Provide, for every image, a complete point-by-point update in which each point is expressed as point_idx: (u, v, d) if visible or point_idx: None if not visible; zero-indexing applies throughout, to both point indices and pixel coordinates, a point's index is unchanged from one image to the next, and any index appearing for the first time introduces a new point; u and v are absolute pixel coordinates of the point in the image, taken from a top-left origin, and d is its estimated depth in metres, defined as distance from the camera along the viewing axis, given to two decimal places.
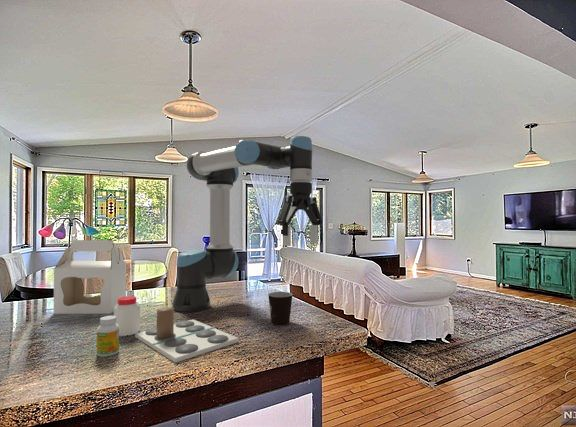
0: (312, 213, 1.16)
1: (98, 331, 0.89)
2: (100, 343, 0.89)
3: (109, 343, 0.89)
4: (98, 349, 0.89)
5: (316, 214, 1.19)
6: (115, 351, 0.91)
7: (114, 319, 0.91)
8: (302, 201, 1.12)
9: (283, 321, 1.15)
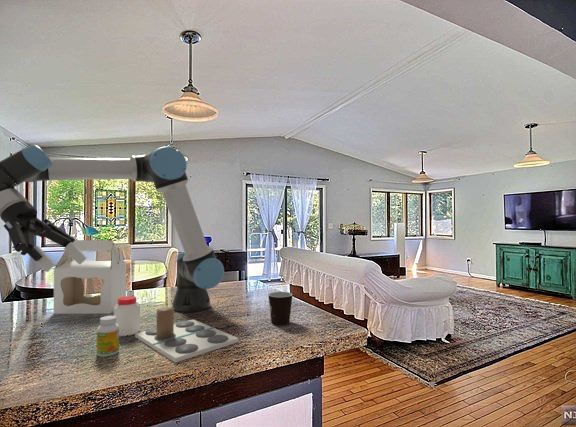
0: None
1: (98, 331, 0.89)
2: (100, 343, 0.89)
3: (109, 343, 0.89)
4: (98, 349, 0.89)
5: None
6: (115, 351, 0.91)
7: (114, 319, 0.91)
8: None
9: (283, 321, 1.15)
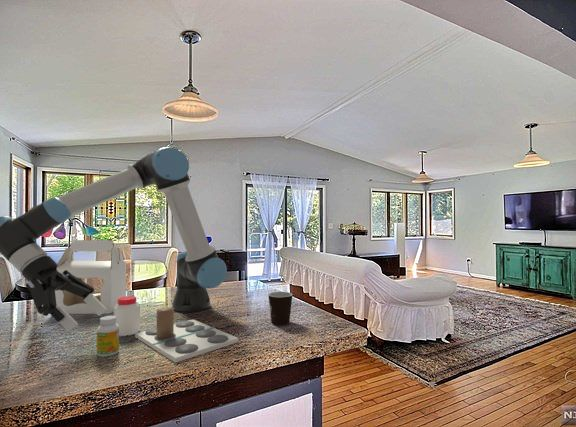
0: None
1: (98, 331, 0.89)
2: (100, 343, 0.89)
3: (109, 343, 0.89)
4: (98, 349, 0.89)
5: None
6: (115, 351, 0.91)
7: (114, 319, 0.91)
8: None
9: (283, 321, 1.15)
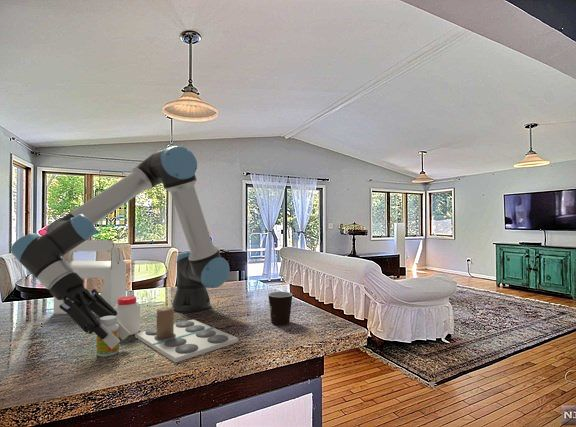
0: None
1: None
2: (100, 343, 0.89)
3: None
4: (98, 349, 0.89)
5: None
6: (115, 351, 0.91)
7: (114, 319, 0.91)
8: None
9: (283, 321, 1.15)
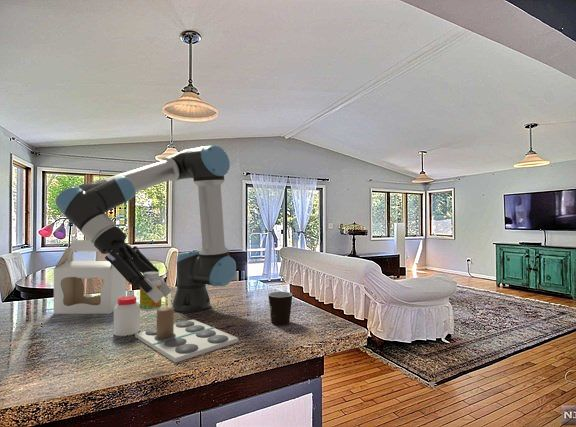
0: None
1: None
2: (144, 297, 0.88)
3: None
4: (141, 303, 0.88)
5: None
6: (158, 306, 0.89)
7: (157, 274, 0.90)
8: None
9: (283, 321, 1.15)
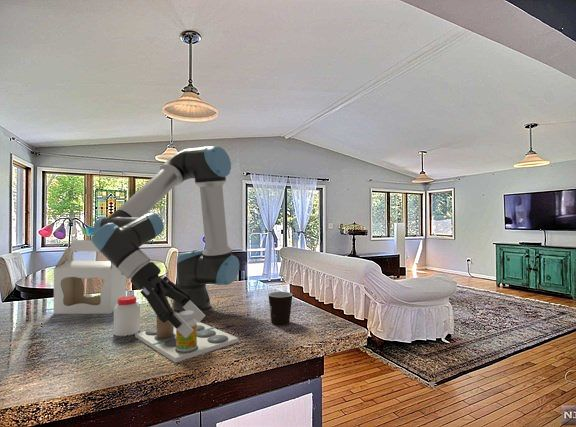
0: None
1: None
2: (181, 337, 0.89)
3: (190, 338, 0.89)
4: (179, 344, 0.89)
5: None
6: (194, 346, 0.90)
7: (193, 314, 0.91)
8: None
9: (283, 321, 1.15)
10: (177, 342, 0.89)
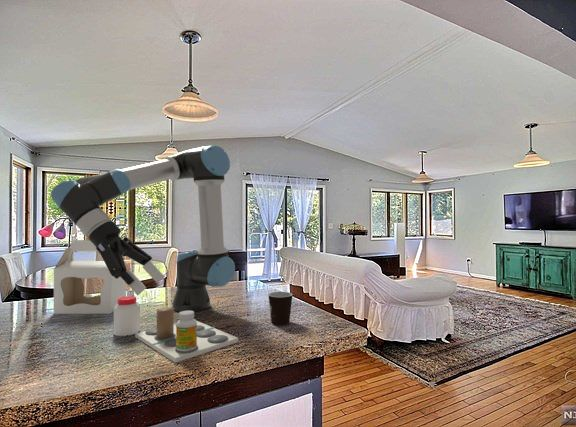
0: None
1: (178, 326, 0.89)
2: (181, 337, 0.89)
3: (190, 338, 0.89)
4: (179, 344, 0.89)
5: None
6: (194, 346, 0.90)
7: (193, 314, 0.91)
8: None
9: (283, 321, 1.15)
10: (177, 342, 0.89)
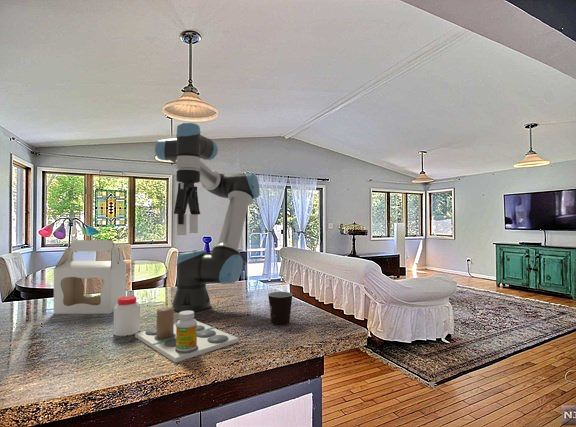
0: None
1: (178, 326, 0.89)
2: (181, 337, 0.89)
3: (190, 338, 0.89)
4: (179, 344, 0.89)
5: None
6: (194, 346, 0.90)
7: (193, 314, 0.91)
8: None
9: (283, 321, 1.15)
10: (177, 342, 0.89)
